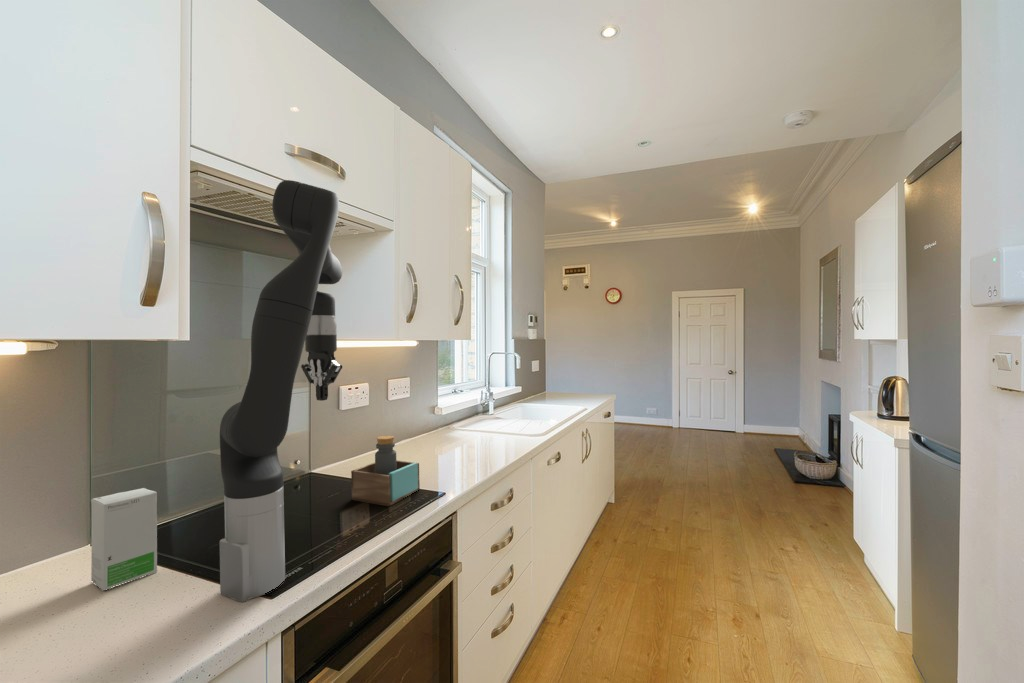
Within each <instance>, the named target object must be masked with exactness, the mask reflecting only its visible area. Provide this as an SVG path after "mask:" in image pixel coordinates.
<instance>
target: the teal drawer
mask: <svg viewBox="0 0 1024 683" xmlns="http://www.w3.org/2000/svg"><path fill="white" fill-rule="evenodd" d="M418 463H419V462H414V463H412V464H410V465H407V466H405V467H402V468H400V469H398V470H395V471H393V472H390V473H389V475H390V494H391V501H394V500H396V499H398V498H400V497H402V496H404V495H406V494H408V493H410V492H412V491H414V490H416V489H418Z"/></svg>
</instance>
